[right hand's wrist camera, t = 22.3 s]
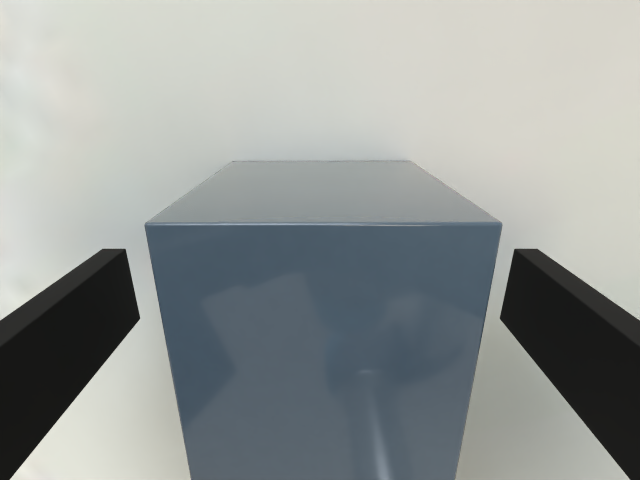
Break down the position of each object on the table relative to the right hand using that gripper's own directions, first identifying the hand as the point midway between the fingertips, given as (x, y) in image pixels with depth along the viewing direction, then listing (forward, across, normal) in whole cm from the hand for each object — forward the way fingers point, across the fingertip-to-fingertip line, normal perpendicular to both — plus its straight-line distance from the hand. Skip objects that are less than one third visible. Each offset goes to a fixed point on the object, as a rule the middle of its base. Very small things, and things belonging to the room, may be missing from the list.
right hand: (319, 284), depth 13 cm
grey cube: (+3, 0, 0) cm, 3 cm away
